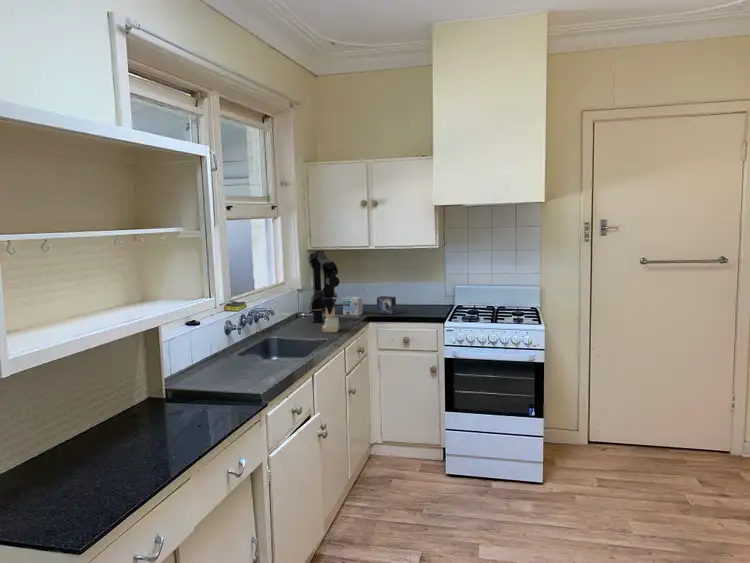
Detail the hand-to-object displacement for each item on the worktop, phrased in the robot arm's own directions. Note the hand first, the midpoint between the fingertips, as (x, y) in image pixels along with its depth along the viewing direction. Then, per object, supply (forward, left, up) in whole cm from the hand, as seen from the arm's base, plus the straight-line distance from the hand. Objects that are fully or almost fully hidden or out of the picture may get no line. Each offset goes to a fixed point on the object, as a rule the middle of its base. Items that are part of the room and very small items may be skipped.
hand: (330, 313), depth 305 cm
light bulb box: (-45, +8, -10) cm, 47 cm away
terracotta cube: (0, 0, -2) cm, 2 cm away
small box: (-45, +29, -10) cm, 54 cm away
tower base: (0, 0, -10) cm, 10 cm away
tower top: (0, +1, -6) cm, 6 cm away
